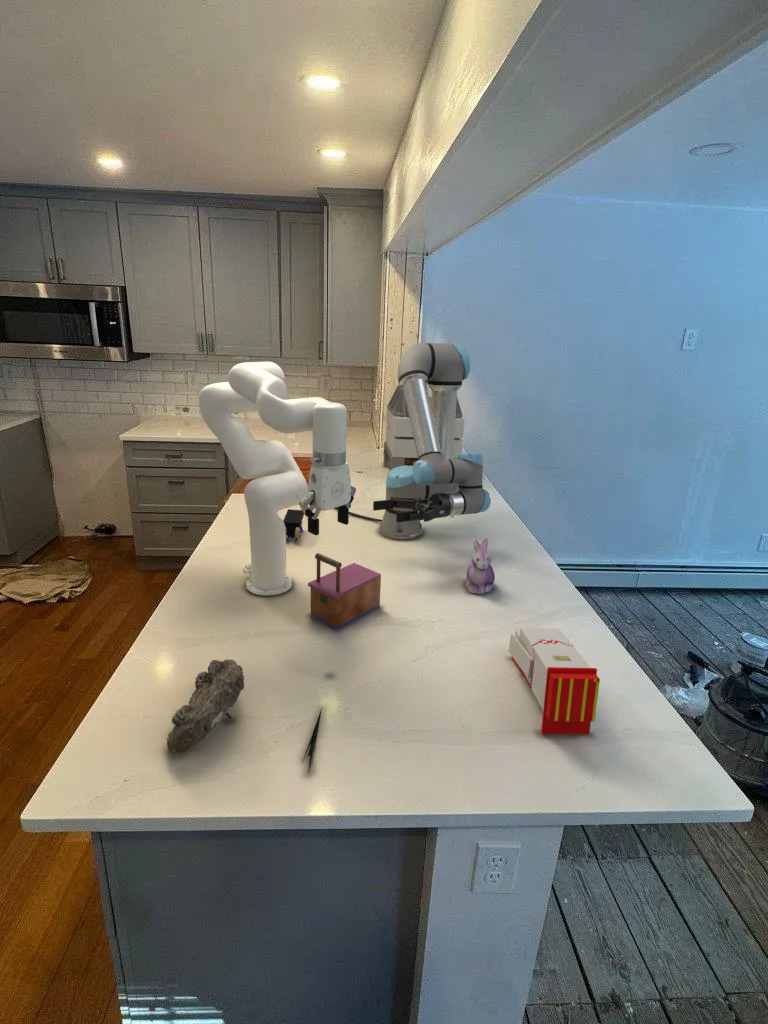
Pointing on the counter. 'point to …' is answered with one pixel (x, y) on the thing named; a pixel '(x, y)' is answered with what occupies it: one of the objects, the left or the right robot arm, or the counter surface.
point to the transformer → (409, 433)
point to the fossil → (206, 705)
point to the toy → (557, 679)
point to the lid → (341, 578)
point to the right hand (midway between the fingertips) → (384, 511)
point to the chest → (345, 605)
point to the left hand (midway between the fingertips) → (328, 528)
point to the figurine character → (293, 524)
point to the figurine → (480, 569)
